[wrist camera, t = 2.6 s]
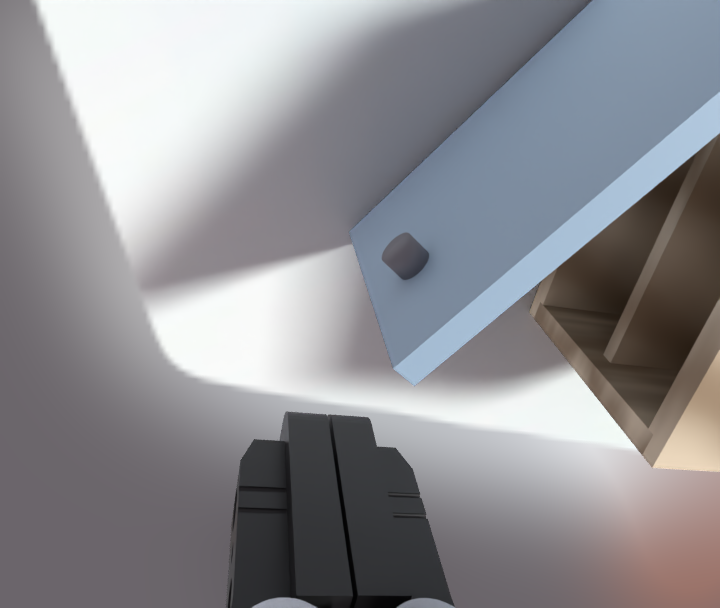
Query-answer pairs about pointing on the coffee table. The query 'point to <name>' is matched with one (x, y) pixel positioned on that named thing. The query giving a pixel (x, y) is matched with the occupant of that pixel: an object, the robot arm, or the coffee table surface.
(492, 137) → the cabinet door
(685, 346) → the cabinet
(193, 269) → the coffee table surface
